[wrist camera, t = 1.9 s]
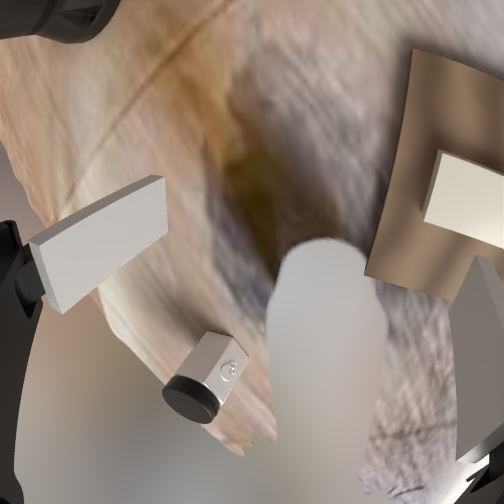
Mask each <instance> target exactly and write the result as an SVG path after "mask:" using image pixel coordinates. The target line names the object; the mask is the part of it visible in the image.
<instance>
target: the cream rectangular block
mask: <svg viewBox="0 0 504 504" xmlns="http://www.w3.org/2000/svg"><path fill="white" fill-rule="evenodd" d="M421 213H422V217H423V221H424V222H428V223H431V224H434V225H437V226H440V227H443V228H446V229H449V230H452V231H455V232H458V233H461V234H464V235H467V236H470V237H473V238H475V239H478V240H481V241H484V242H487V243H489V244H492V245H495V246H497V247H500V248H503V249H504V174H503V173H501V172H498V171H496V170H494V169H491V168H489V167H486V166H484V165H481V164H479V163H476V162H474V161H471V160H469V159H466V158H463V157H460V156H458V155H455V154H452V153H449V152H446V151H443V150H440V149H438V153H437V157H436V161H435V165H434V169H433V173H432V177H431V181H430V185H429V188H428V192H427V195H426V199H425V202H424V206H423V209H422V212H421Z"/></svg>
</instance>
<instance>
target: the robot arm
mask: <svg viewBox="0 0 504 504" xmlns="http://www.w3.org/2000/svg"><path fill="white" fill-rule="evenodd" d="M119 2H120V0H0V40H1V39H7V38H14V37H21V36H28V35H38V36H41V37H45V38H48V39H51V40H55V41H58V42H61V43H66V44H72V43H83V42H86V41H89V40H90V39H92V38H94V37H95V36H96V35H97V34H99V33H100V32H101V31H102V30H103V28H104V27H105V26H106V25H107V23H108V22H109V21H110V19H111V18H112V16H113V14H114V13H115V11H116V9H117V7H118V5H119ZM166 233H168V226H167V210H166V192H165V177H163V176H157V175H150V176H147V177H145V178H143V179H141V180H139V181H137V182H134V183H132V184H130V185H128V186H126V187H124V188H122V189H120V190H118V191H116V192H114V193H112V194H110V195H108V196H106V197H104V198H102V199H100V200H98V201H96V202H94V203H92V204H90V205H89V206H87V207H85V208H83V209H81V210H79V211H77V212H76V213H74V214H72V215H70V216H68V217H67V218H65V219H63V220H61V221H59V222H58V223H56V224H54V225H52V226H51V227H49V228H47V229H46V230H44V231H42V232H41V233H39V234H37V235H36V236H34V237H32V238H31V239H29V240H28V242H29V243H28V244H26V245H25V246H23V245H22V242H21V239H20V235H19V232H18V228H17V224H16V222H15V221H13V220H6V221H3V222H0V504H24V497H23V491H22V488H21V486H20V484H19V482H18V480H17V478H16V476H15V474H14V452H15V440H16V430H17V421H18V414H19V407H20V400H21V394H22V389H23V383H24V378H25V373H26V368H27V363H28V359H29V355H30V351H31V347H32V343H33V339H34V335H35V331H36V328H37V324H38V321H39V317H40V314H41V311H42V307H43V302H42V299H41V297H42V296H43V295H44V294H45V293H46V295H47V298H48V300H49V303H50V305H51V307H52V308H54V309H55V310H57V311H58V312H60V313H61V314H64V313H65V312H66V311H67V310H68V309H69V308H71V307H72V306H73V305H74V304H76V303H77V302H78V301H79V300H80V299H81V298H83V297H84V296H85V295H86V294H88V293H89V292H90V291H92V290H93V289H94V288H95V287H97V286H98V285H99V284H100V283H102V282H103V281H104V280H105V279H107V278H108V277H109V276H110V275H112V274H113V273H114V272H116V271H117V270H118V269H119V268H121V267H122V266H123V265H125V264H126V263H127V262H129V261H130V260H131V259H132V258H134V257H135V256H136V255H138V254H139V253H140V252H142V251H143V250H144V249H146V248H147V247H148V246H150V245H151V244H152V243H154V242H155V241H157V240H158V239H159V238H161V237H162V236H163V235H165V234H166ZM448 314H449V321H450V328H451V335H452V344H453V353H454V364H455V377H456V397H457V442H456V461H455V462H467V463H477V462H478V461H480V460H481V459H482V458H484V457H485V456H486V455H488V454H489V464H488V465H486V466H485V467H483V468H482V469H480V470H479V471H477V472H476V473H474V474H473V475H471V476H470V477H469V478H468V479H466V481H467V482H469V481H470V480H472V479H474V478H475V479H474V480H473V481H472V483H471V484H470V485H469V486H468V488H467V489H466V490H465V491H464V492H463V494H462V495H461V496H460V497H459V498H458V499H457V501H456V502H455V503H454V504H504V286H503V284H502V281H501V279H500V277H499V275H498V272H497V270H496V268H495V266H494V264H493V262H492V260H491V259H489V258H486V257H483V256H480V255H477V254H475V256H474V258H473V261H472V263H471V265H470V268H469V270H468V272H467V274H466V276H465V279H464V281H463V283H462V285H461V287H460V289H459V291H458V293H457V295H456V297H455V299H454V301H453V303H452V305H451V307H450V309H449V311H448Z"/></svg>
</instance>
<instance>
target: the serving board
mask: <svg viewBox="0 0 504 504" xmlns="http://www.w3.org/2000/svg"><path fill="white" fill-rule="evenodd" d="M438 149H440V150H443V151H446V152H449V153H452V154H455V155H458V156H460V157H463V158H466V159H469V160H471V161H474V162H476V163H479V164H481V165H484V166H486V167H489V168H491V169H494V170H496V171H498V172H501V173H503V174H504V81H502V80H500V79H498V78H496V77H494V76H491V75H489V74H487V73H484V72H482V71H480V70H477V69H475V68H472V67H470V66H467V65H464V64H462V63H459V62H456V61H453V60H450V59H447V58H444V57H441V56H438V55H435V54H432V53H429V52H425V51H422V50H418V49H415V48H413V49H412V51H411V56H410V65H409V73H408V81H407V88H406V95H405V102H404V108H403V114H402V120H401V125H400V131H399V136H398V141H397V146H396V151H395V156H394V161H393V165H392V170H391V174H390V178H389V183H388V187H387V191H386V195H385V199H384V203H383V207H382V211H381V214H380V218H379V222H378V225H377V229H376V232H375V236H374V239H373V243H372V246H371V249H370V253H369V256H368V259H367V262H366V266H365V272H364V275H365V276H368V277H371V278H375V279H378V280H382V281H385V282H388V283H392V284H395V285H399V286H402V287H406V288H409V289H412V290H416V291H419V292H423V293H426V294H429V295H433V296H436V297H440V298H443V299H446V300H450V301H454V299H455V297H456V295H457V293H458V291H459V289H460V287H461V285H462V283H463V281H464V279H465V276H466V274H467V272H468V270H469V268H470V265H471V263H472V261H473V258H474V256H475V254H477V255H480V256H483V257H486V258H489V259H491V260H492V262H493V264H494V266H495V268H496V270H497V272H498V275H499V277H500V279H501V281H502V284H503V286H504V249H503V248H500V247H497V246H495V245H492V244H489V243H487V242H484V241H481V240H478V239H475V238H473V237H470V236H467V235H464V234H461V233H458V232H455V231H452V230H449V229H446V228H443V227H440V226H437V225H434V224H431V223H428V222H424V221H423V217H422V213H421V212H422V209H423V206H424V202H425V199H426V195H427V192H428V188H429V185H430V181H431V177H432V173H433V169H434V165H435V161H436V157H437V153H438Z"/></svg>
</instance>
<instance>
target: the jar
mask: <svg viewBox="0 0 504 504" xmlns="http://www.w3.org/2000/svg"><path fill="white" fill-rule="evenodd" d="M248 361H249V357H248V355H247V354H246V353H245V352H244V350H243V349H242V348H241V346H240V345H239V344H238V343H237V341H236V340H235V339H234V338H233V337H230V336H226V335H222V334H218V333H214V332H210V331H207V332H206V333H205V334H204V336H203V337H202V338H201V339H200V341H199V342H198V343H197V345H196V346H195V347H194V349H193V350H192V351H191V353H190V354H189V355H188V356H187V358H186V359H185V360H184V362H183V363H182V364H181V366H180V367H179V368H178V370H177V371H176V372H175V374H174V377H172V378H171V379H170V381H169V382H168V383H167V385H166V386H165V387H164V388H163V390H162V395H163V398H164V399H165V401H166V402H167V403H168V405H169V406H170V407H172V408H173V409H174V410H175V411H176V412H178V413H179V414H180V415H182V416H184V417H185V418H187V419H189V420H191V421H194V422H197V423H201V424H208V423H211V422H212V420H213V419H214V417H216V415H217V413H218V411H219V409H220V406H221V405H222V404H223V403H224V402H225V400H226V398H227V397H228V395H229V393H230V392H231V390H232V388H233V387H234V385H235V383H236V381H237V380H238V378H239V376H240V375H241V373H242V371H243V369H244V368H245V366H246V364H247V363H248Z"/></svg>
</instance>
